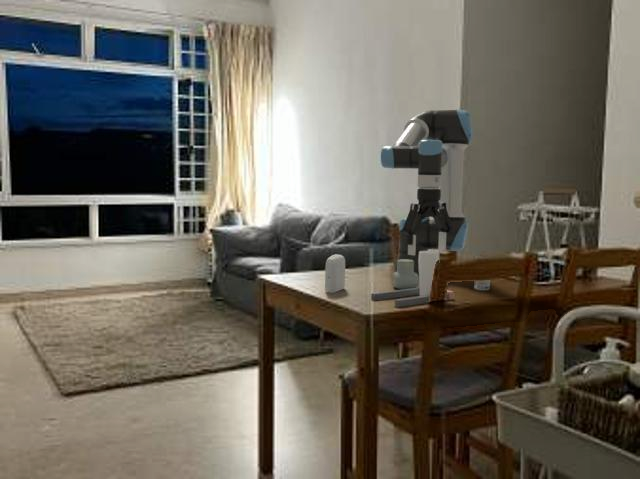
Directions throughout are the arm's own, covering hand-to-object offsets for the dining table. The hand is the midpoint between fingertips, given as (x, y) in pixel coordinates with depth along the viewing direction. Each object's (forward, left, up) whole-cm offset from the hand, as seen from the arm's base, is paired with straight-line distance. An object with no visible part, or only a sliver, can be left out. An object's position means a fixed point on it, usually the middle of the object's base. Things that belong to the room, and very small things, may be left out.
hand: (427, 253), depth 213 cm
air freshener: (-5, -16, -15) cm, 22 cm away
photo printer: (+19, -25, -15) cm, 35 cm away
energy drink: (-28, -1, -15) cm, 32 cm away
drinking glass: (-1, 0, -15) cm, 15 cm away
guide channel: (+6, 0, -15) cm, 16 cm away
